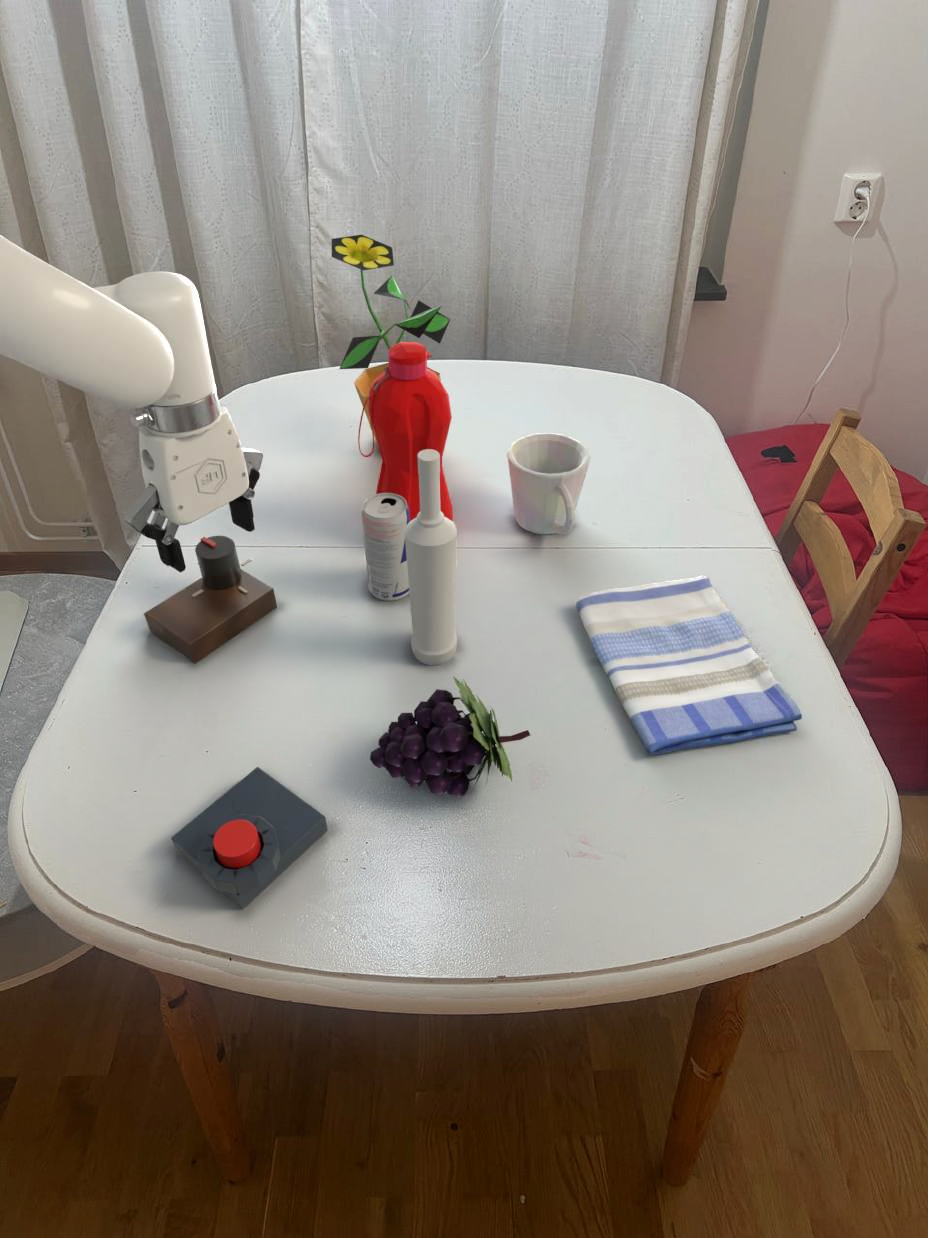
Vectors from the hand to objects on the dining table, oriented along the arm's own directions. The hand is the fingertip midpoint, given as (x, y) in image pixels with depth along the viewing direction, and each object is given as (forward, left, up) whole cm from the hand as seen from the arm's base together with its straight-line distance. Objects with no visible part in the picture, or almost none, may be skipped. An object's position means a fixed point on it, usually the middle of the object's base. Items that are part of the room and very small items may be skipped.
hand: (210, 545), depth 96 cm
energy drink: (+14, -14, -8) cm, 21 cm away
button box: (-20, -28, -8) cm, 35 cm away
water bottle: (+24, -8, -8) cm, 27 cm away
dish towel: (+24, -47, -8) cm, 54 cm away
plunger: (-22, -30, -4) cm, 38 cm away
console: (-2, -1, -8) cm, 8 cm away
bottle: (+9, -25, -8) cm, 28 cm away
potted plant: (+40, +7, -8) cm, 41 cm away
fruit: (-3, -37, -8) cm, 38 cm away
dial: (+1, 0, -5) cm, 5 cm away
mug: (+36, -22, -8) cm, 43 cm away
